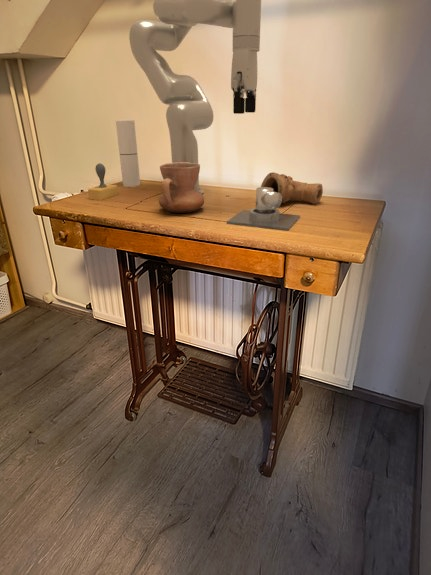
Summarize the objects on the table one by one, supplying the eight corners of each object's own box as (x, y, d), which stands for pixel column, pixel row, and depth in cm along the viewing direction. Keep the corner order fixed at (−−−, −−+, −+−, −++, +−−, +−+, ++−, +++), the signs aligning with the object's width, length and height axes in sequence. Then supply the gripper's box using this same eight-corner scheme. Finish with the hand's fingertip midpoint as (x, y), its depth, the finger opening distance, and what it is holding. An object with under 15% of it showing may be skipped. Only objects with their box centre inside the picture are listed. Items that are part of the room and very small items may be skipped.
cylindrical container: (120, 186, 160) (112, 120, 149) (126, 183, 166) (119, 119, 156) (136, 187, 159) (130, 120, 148) (142, 183, 165) (136, 119, 154)
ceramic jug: (178, 202, 135) (175, 159, 129) (214, 206, 129) (214, 162, 122) (145, 214, 121) (141, 167, 115) (184, 220, 114) (182, 170, 108)
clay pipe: (269, 207, 142) (252, 203, 129) (273, 177, 140) (257, 170, 127) (320, 212, 133) (308, 208, 120) (325, 180, 131) (313, 172, 118)
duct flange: (226, 223, 111) (226, 213, 110) (243, 211, 123) (243, 202, 121) (288, 230, 105) (289, 220, 103) (300, 217, 116) (300, 208, 115)
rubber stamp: (101, 200, 138) (96, 165, 133) (88, 199, 141) (83, 164, 136) (119, 195, 147) (115, 161, 141) (106, 193, 149) (102, 161, 144)
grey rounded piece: (251, 217, 114) (252, 188, 110) (264, 215, 117) (265, 186, 113) (268, 223, 109) (270, 192, 105) (281, 220, 111) (283, 190, 108)
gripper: (244, 49, 116) (242, 112, 124) (221, 42, 102) (221, 114, 109) (268, 47, 113) (265, 112, 121) (248, 40, 99) (246, 114, 107)
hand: (244, 112), depth 115 cm, fingers open, 9 cm apart
